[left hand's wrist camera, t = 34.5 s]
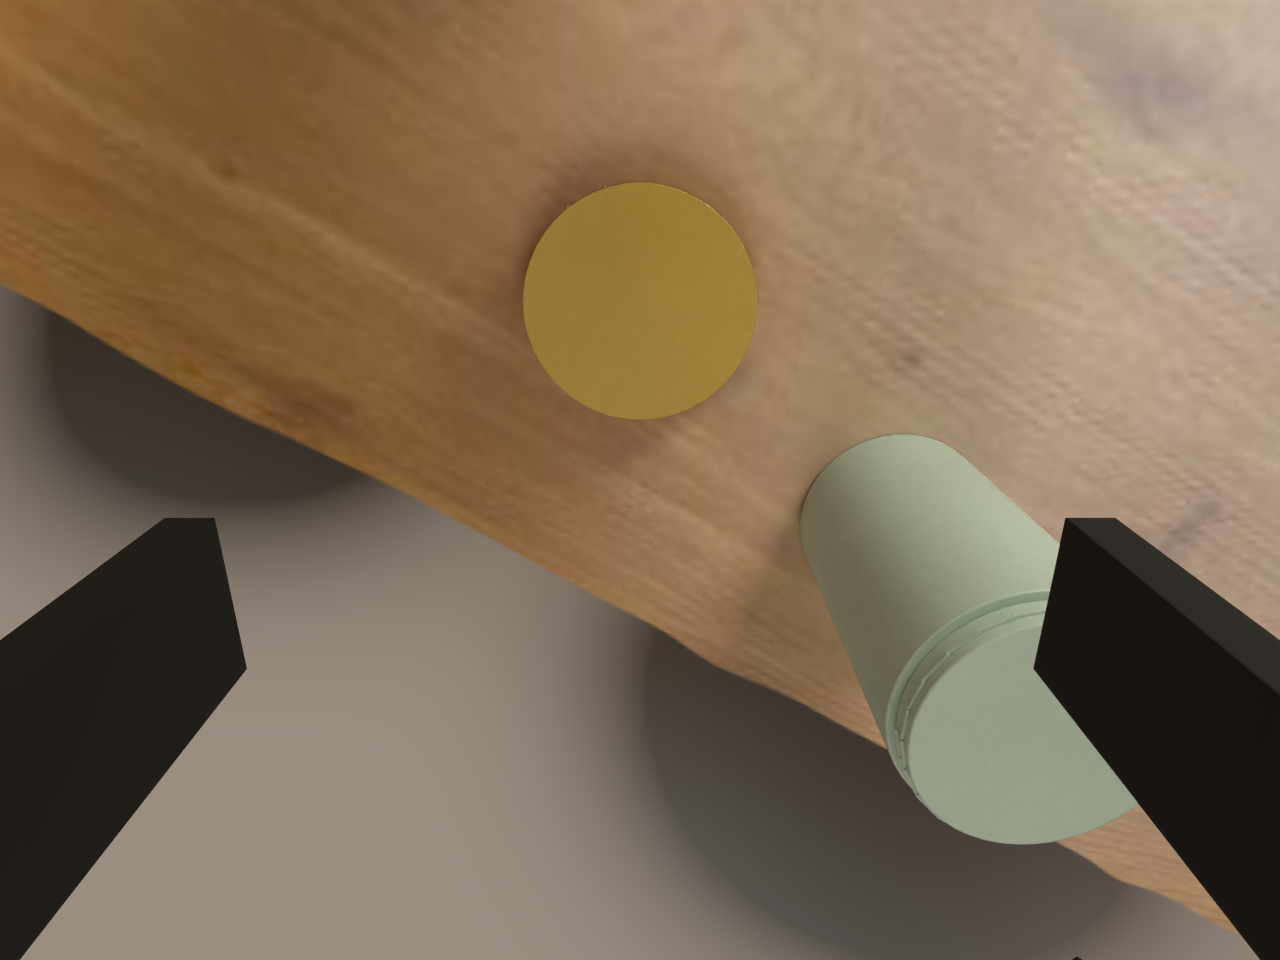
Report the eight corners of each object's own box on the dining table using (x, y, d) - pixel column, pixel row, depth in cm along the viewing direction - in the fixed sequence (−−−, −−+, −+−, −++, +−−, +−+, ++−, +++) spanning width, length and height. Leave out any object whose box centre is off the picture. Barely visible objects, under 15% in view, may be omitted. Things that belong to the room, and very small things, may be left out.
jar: (772, 573, 45) (850, 814, 29) (843, 409, 42) (980, 575, 25) (935, 621, 47) (1102, 879, 30) (1017, 465, 43) (1260, 659, 26)
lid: (761, 397, 42) (765, 406, 40) (545, 422, 42) (541, 431, 41) (746, 167, 37) (750, 167, 36) (507, 198, 38) (501, 199, 36)
